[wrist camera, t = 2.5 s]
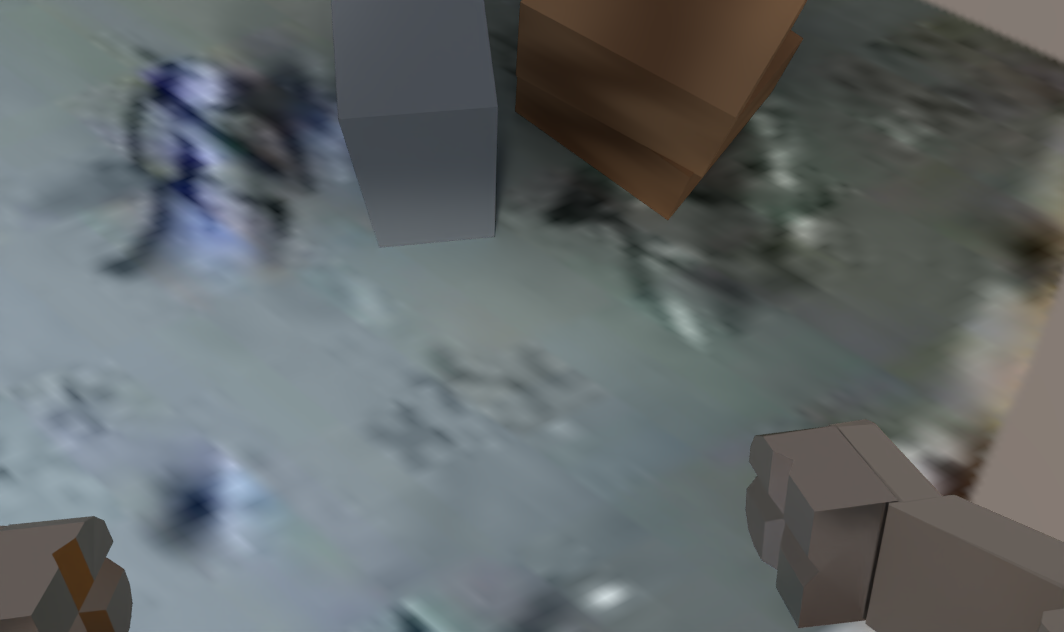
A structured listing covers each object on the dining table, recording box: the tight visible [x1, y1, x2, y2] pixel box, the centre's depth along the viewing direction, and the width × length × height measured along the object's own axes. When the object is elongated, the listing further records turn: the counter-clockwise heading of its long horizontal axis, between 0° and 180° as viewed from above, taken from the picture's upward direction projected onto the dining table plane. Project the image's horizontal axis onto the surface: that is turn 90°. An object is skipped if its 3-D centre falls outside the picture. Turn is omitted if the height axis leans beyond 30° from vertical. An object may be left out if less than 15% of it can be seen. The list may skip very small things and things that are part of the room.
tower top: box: [516, 0, 807, 178], centre depth 25 cm, size 7×7×4 cm
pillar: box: [331, 0, 498, 248], centre depth 24 cm, size 4×4×8 cm
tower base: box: [515, 30, 803, 220], centre depth 28 cm, size 7×7×4 cm
